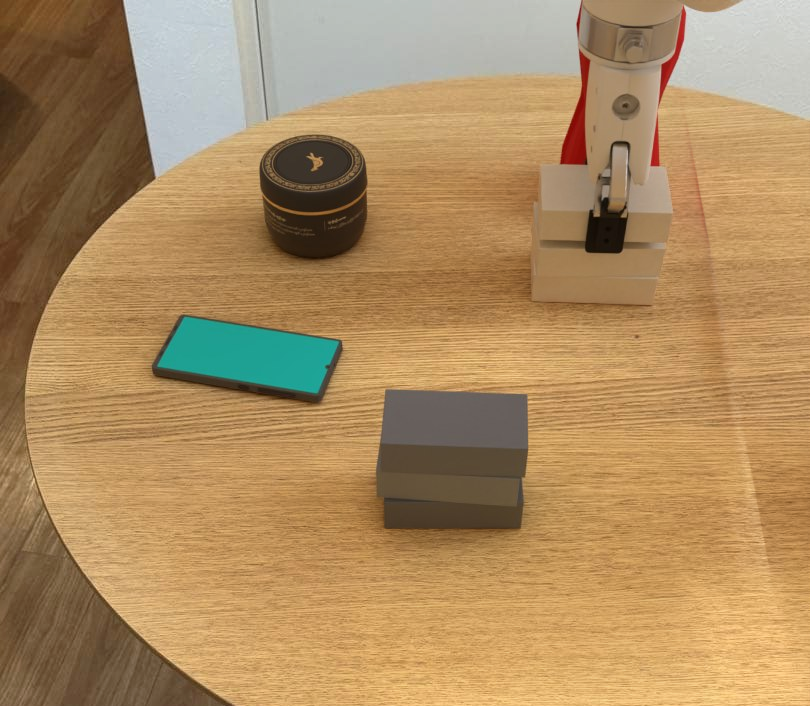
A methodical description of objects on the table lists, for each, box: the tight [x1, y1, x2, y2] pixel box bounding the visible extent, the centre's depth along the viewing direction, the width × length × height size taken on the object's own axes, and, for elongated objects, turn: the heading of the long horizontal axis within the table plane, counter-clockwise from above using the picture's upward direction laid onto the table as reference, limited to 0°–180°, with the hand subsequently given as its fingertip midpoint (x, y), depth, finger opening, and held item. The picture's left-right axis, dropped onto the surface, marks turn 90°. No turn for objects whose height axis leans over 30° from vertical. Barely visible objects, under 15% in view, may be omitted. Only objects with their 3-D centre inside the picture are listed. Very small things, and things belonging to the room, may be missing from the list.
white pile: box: [529, 201, 667, 306], centre depth 105 cm, size 11×8×6 cm
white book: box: [537, 163, 674, 244], centre depth 100 cm, size 11×7×3 cm, turn 87°
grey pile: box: [375, 388, 529, 529], centre depth 86 cm, size 11×6×9 cm, turn 87°
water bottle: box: [559, 0, 687, 167], centre depth 106 cm, size 9×11×25 cm
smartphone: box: [151, 314, 344, 403], centre depth 99 cm, size 7×1×15 cm
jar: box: [258, 133, 369, 259], centre depth 109 cm, size 10×10×8 cm
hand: (600, 223), depth 102 cm, fingers closed on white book, 7 cm apart
